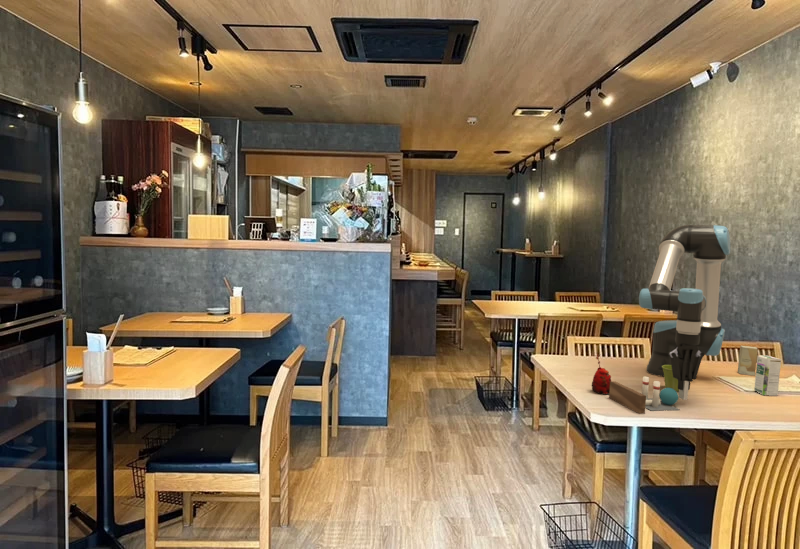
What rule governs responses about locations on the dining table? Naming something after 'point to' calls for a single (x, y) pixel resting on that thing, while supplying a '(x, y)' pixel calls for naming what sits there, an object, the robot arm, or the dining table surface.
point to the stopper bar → (627, 397)
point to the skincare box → (747, 360)
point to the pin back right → (645, 386)
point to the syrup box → (767, 375)
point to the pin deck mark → (661, 407)
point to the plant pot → (670, 378)
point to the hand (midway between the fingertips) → (682, 398)
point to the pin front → (649, 403)
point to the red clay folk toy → (601, 380)
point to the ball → (668, 396)
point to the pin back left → (655, 394)
